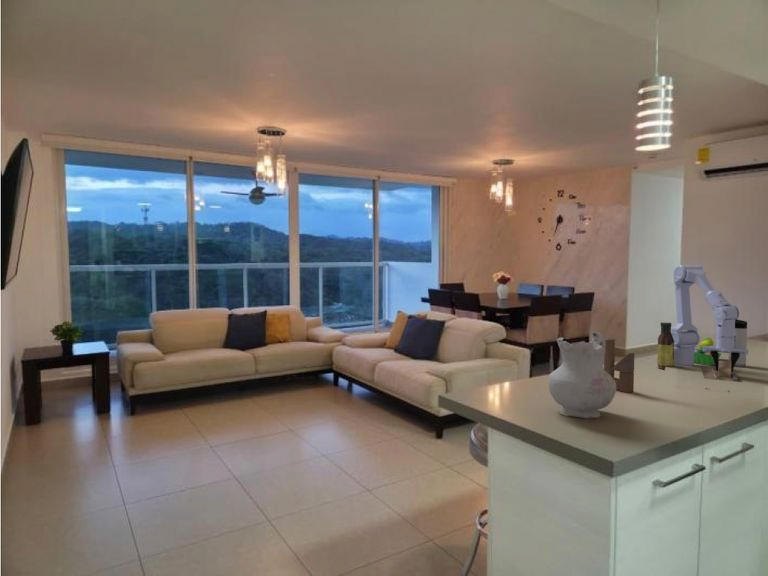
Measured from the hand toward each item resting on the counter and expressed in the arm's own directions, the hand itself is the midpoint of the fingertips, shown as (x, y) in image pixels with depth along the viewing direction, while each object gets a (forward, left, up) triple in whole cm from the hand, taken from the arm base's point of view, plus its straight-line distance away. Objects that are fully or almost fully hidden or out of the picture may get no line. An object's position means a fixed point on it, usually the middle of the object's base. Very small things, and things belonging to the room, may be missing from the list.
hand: (724, 371), depth 195 cm
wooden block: (-35, -35, -3) cm, 50 cm away
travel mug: (+7, +31, -3) cm, 32 cm away
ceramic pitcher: (-42, -69, -3) cm, 81 cm away
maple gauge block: (0, 0, -2) cm, 2 cm away
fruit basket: (-5, +30, -3) cm, 31 cm away
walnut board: (-1, +2, -3) cm, 4 cm away
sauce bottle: (-20, +10, -3) cm, 23 cm away
